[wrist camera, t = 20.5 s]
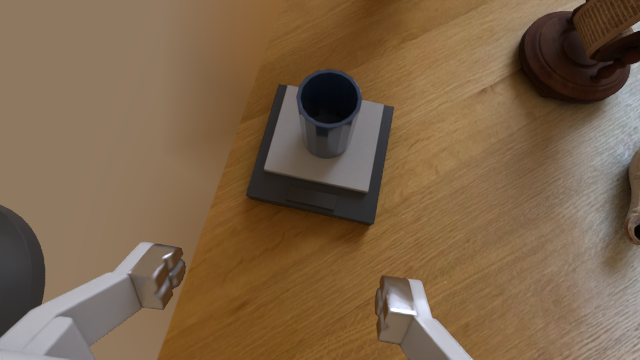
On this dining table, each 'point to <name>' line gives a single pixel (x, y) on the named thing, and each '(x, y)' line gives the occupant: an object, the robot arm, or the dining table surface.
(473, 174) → the dining table surface
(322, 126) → the cup
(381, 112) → the scale
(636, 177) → the oil lamp
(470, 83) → the dining table surface
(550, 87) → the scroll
